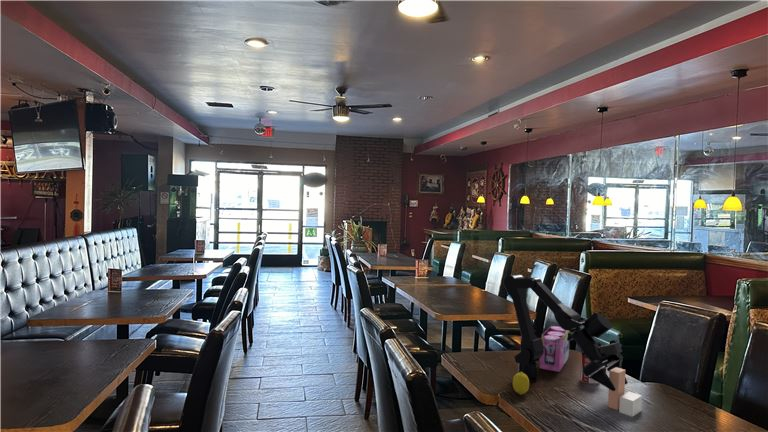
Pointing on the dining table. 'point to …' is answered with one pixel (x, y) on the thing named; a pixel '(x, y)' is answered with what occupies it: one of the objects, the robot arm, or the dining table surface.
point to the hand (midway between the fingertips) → (620, 387)
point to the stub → (616, 387)
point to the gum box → (554, 348)
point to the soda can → (583, 378)
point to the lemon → (521, 383)
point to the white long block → (630, 403)
